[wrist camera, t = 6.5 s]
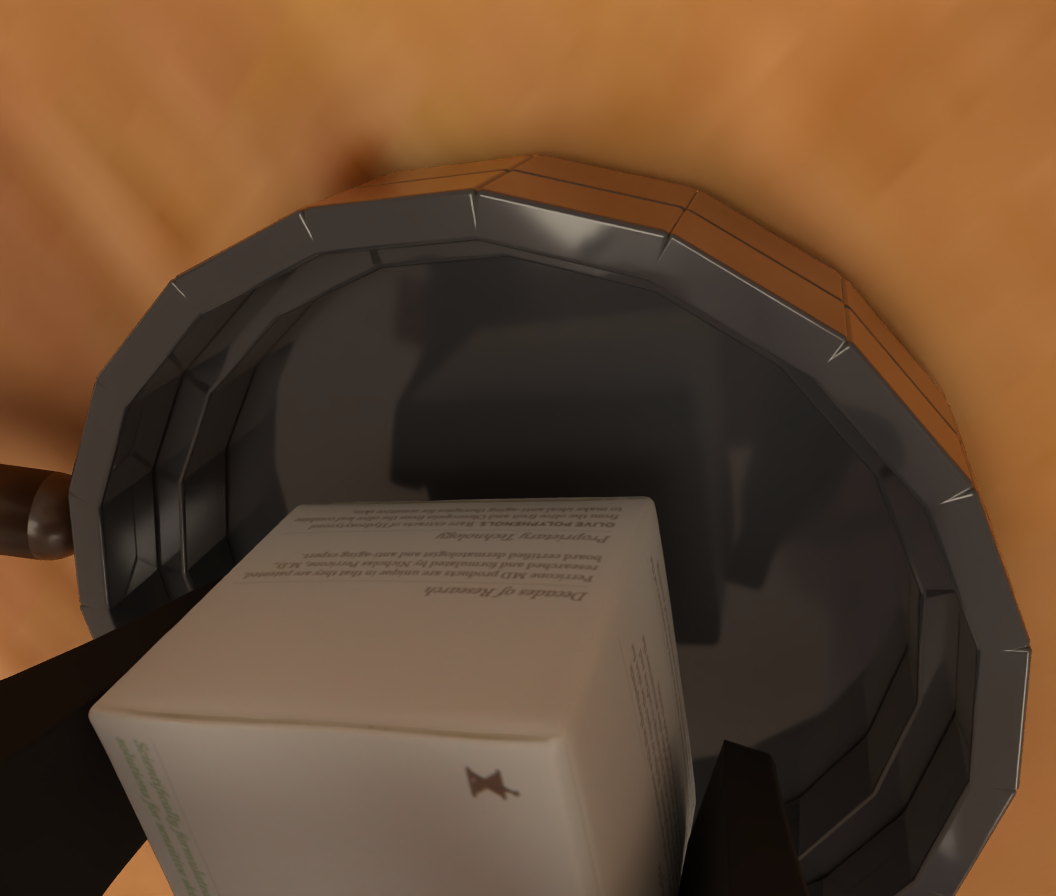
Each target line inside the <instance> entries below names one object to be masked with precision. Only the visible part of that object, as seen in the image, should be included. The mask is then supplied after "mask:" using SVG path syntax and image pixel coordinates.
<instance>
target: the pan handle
mask: <svg viewBox="0 0 1056 896" xmlns="http://www.w3.org/2000/svg"><path fill="white" fill-rule="evenodd" d="M71 476H72V475H69V474H66V473H61V472H55V471H48V470H41V469H34V468H27V467H20V466H12V465H5V464H0V555H7V556H14V557H22V558H29V559H37V560H57V559H62V558H65V557H68V556H71V555H73V554H74V548H73V539H72V530H71V520H70V511H69V502H68V494H69V490H68V488H69V484H70V480H71Z"/></svg>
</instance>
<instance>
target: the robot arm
mask: <svg viewBox="0 0 1056 896" xmlns="http://www.w3.org/2000/svg"><path fill="white" fill-rule="evenodd" d="M222 579H223V578H222V577H219V578H217V579H215V580H213V581H211V582H209V583H207V584H205V585H202V586H200V587H198V588H196V589H194V590H192V591H190V592H188V593H186V594H184V595H182V596H180V597H178V598H176V599H174V600H172V601H171V602H169V603H167V604H165V605H163V606H161V607H159V608H157V609H155V610H153V611H151V612H149V613H147V614H145V615H143V616H141V617H139V618H137V619H135V620H133V621H131V622H129V623H126V624H124V625H122V626H120V627H118V628H116V629H114V630H112V631H110V632H108V633H106V634H104V635H102V636H100V637H98V638H96V639H94V640H92V641H90V642H87V643H85V644H83V645H81V646H79V647H77V648H74V649H72V650H70V651H67V652H65V653H63V654H61V655H58V656H56V657H54V658H52V659H49V660H47V661H45V662H42V663H40V664H38V665H36V666H33V667H31V668H29V669H27V670H24V671H22V672H20V673H17V674H15V675H13V676H11V677H8V678H6V679H3V680H1V681H0V896H102V895H103V894H104V892H105V891H106V890H107V888H108V887H109V886H110V884H111V883H112V882H113V881H114V879H115V878H116V877H117V875H118V874H119V873H120V872H121V870H122V869H123V868H124V867H125V866H126V864H127V863H128V862H129V861H130V860H131V858H132V857H133V856H134V855H135V853H136V852H137V851H138V850H139V849H140V847H141V846H142V845H143V844H144V842H145V841H146V840H147V839H148V838H147V836H146V834H145V832H144V830H143V828H142V826H141V824H140V821H139V819H138V817H137V815H136V813H135V811H134V809H133V807H132V805H131V803H130V801H129V799H128V797H127V794H126V792H125V790H124V788H123V786H122V784H121V782H120V780H119V778H118V776H117V774H116V772H115V770H114V768H113V765H112V763H111V761H110V759H109V757H108V755H107V753H106V751H105V749H104V747H103V745H102V743H101V741H100V739H99V737H98V735H97V733H96V731H95V730H94V728H93V726H92V724H91V722H90V720H89V717H88V714H89V711H90V709H91V707H92V706H93V705H94V704H95V703H96V702H97V701H98V700H99V699H100V698H101V697H102V696H103V695H104V694H105V693H106V692H107V691H108V690H109V689H110V688H111V687H112V686H113V685H114V684H115V683H116V682H117V681H118V680H119V679H120V678H122V677H123V676H124V675H125V674H126V673H127V672H128V671H129V670H130V669H131V668H132V667H133V666H134V665H135V664H136V663H137V662H138V661H139V660H140V659H141V658H142V657H143V656H144V655H145V654H146V653H147V652H148V651H149V650H150V649H151V648H152V647H153V646H154V645H155V644H156V643H157V642H158V641H159V640H160V639H161V638H162V637H163V636H164V635H165V634H166V633H167V632H168V631H170V630H171V629H172V628H173V627H174V626H175V625H176V624H177V623H178V622H179V621H180V620H181V619H182V618H183V617H184V616H185V615H186V614H187V613H188V612H189V611H190V610H191V609H192V608H193V607H194V606H195V605H196V604H197V603H198V602H200V601H201V600H202V599H203V598H204V597H205V596H206V595H207V594H208V593H209V592H210V591H211V590H212V589H213V588H214V587H215V586H216V585H217V584H218V583H219V582H220V581H221V580H222ZM678 896H810V894H809V891H808V888H807V885H806V882H805V879H804V876H803V873H802V870H801V866H800V863H799V860H798V856H797V853H796V849H795V846H794V842H793V839H792V835H791V831H790V827H789V824H788V820H787V816H786V812H785V808H784V804H783V799H782V795H781V790H780V785H779V781H778V775H777V770H776V764H775V762H774V760H773V758H772V757H771V755H770V754H768V753H765V752H762V751H759V750H755V749H752V748H749V747H746V746H743V745H740V744H737V743H734V742H731V741H728V740H724V742H723V745H722V748H721V750H720V753H719V756H718V759H717V762H716V764H715V767H714V770H713V773H712V775H711V778H710V781H709V784H708V787H707V789H706V792H705V795H704V798H703V800H702V803H701V806H700V809H699V812H698V814H697V817H696V820H695V823H694V825H693V828H692V831H691V834H690V837H689V839H688V843H687V849H686V854H685V859H684V864H683V869H682V874H681V880H680V886H679V892H678Z"/></svg>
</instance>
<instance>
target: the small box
mask: <svg viewBox="0 0 1056 896" xmlns="http://www.w3.org/2000/svg"><path fill="white" fill-rule="evenodd" d="M88 717H89V720H90V722H91V724H92V726H93V728H94V730H95V731H96V733H97V735H98V737H99V739H100V741H101V743H102V745H103V747H104V749H105V751H106V753H107V755H108V757H109V759H110V761H111V763H112V765H113V768H114V770H115V772H116V774H117V776H118V778H119V780H120V782H121V784H122V786H123V788H124V790H125V792H126V794H127V797H128V799H129V801H130V803H131V805H132V807H133V809H134V811H135V813H136V815H137V817H138V819H139V821H140V824H141V826H142V828H143V830H144V832H145V834H146V836H147V838H148V841H149V843H150V845H151V847H152V849H153V851H154V853H155V855H156V858H157V860H158V862H159V864H160V866H161V868H162V870H163V872H164V874H165V877H166V879H167V881H168V883H169V885H170V887H171V889H172V891H173V894H174V896H678V892H679V886H680V880H681V874H682V869H683V864H684V859H685V854H686V849H687V843H688V839H689V837H690V833H691V828H692V822H693V816H694V810H695V805H696V796H695V783H694V775H693V765H692V756H691V748H690V740H689V733H688V726H687V719H686V712H685V705H684V698H683V691H682V684H681V676H680V668H679V660H678V653H677V647H676V640H675V633H674V625H673V618H672V610H671V603H670V596H669V590H668V583H667V576H666V569H665V563H664V556H663V550H662V544H661V537H660V531H659V524H658V519H657V513H656V508H655V504H654V502H653V500H652V499H651V498H649V497H644V496H636V497H577V498H561V497H559V498H525V499H475V500H442V501H381V502H333V503H312V504H302V505H299V506H297V507H296V508H295V509H293V510H292V511H291V512H290V513H289V514H288V515H287V516H286V517H285V518H284V519H283V520H282V521H281V522H280V523H279V524H278V525H277V526H276V527H275V528H274V529H273V530H272V531H271V532H270V533H269V534H268V535H267V536H266V537H265V538H264V539H263V540H262V541H261V542H260V543H258V544H257V545H256V546H255V547H254V548H253V550H252V551H251V552H250V553H248V554H247V555H246V556H245V557H244V558H243V559H242V560H241V561H240V562H239V563H238V564H237V565H236V566H235V567H234V568H233V569H232V570H231V571H230V572H229V573H228V574H227V575H226V576H225V577H224V578H223V579H222V580H221V581H220V582H219V583H218V584H217V585H216V586H215V587H214V588H213V589H212V590H211V591H210V592H209V593H208V594H207V595H206V596H205V597H204V598H203V599H202V600H201V601H200V602H198V603H197V604H196V605H195V606H194V607H193V608H192V609H191V610H190V611H189V612H188V613H187V614H186V615H185V616H184V617H183V618H182V619H181V620H180V621H179V622H178V623H177V624H176V625H175V626H174V627H173V628H172V629H171V630H170V631H168V632H167V633H166V634H165V635H164V636H163V637H162V638H161V639H160V640H159V641H158V642H157V643H156V644H155V645H154V646H153V647H152V648H151V649H150V650H149V651H148V652H147V653H146V654H145V655H144V656H143V657H142V658H141V659H140V660H139V661H138V662H137V663H136V664H135V665H134V666H133V667H132V668H131V669H130V670H129V671H128V672H127V673H126V674H125V675H124V676H123V677H122V678H120V679H119V680H118V681H117V682H116V683H115V684H114V685H113V686H112V687H111V688H110V689H109V690H108V691H107V692H106V693H105V694H104V695H103V696H102V697H101V698H100V699H99V700H98V701H97V702H96V703H95V704H94V705H93V706H92V707H91V709H90V711H89V714H88Z"/></svg>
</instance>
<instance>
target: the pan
mask: <svg viewBox="0 0 1056 896" xmlns="http://www.w3.org/2000/svg"><path fill="white" fill-rule="evenodd" d="M96 379H97V381H96V382H95V384H94V388H93V392H92V396H91V400H90V404H89V408H88V412H87V416H86V420H85V424H84V428H83V432H82V436H81V440H80V444H79V448H78V452H77V456H76V460H75V464H74V468H73V472H72V476H71V480H70V484H69V488H68V490H69V494H68V502H69V511H70V520H71V530H72V539H73V548H74V557H75V566H76V576H77V585H78V594H79V602H80V604H81V605H80V609H81V611H82V614H83V616H84V618H85V621H86V623H87V626H88V628H89V630H90V633H91V635H92V638H93V640H94V639H96V638H98V637H100V636H102V635H104V634H106V633H108V632H110V631H112V630H114V629H116V628H118V627H120V626H122V625H124V624H126V623H129V622H131V621H133V620H135V619H137V618H139V617H141V616H143V615H145V614H147V613H149V612H151V611H153V610H155V609H157V608H159V607H161V606H163V605H165V604H167V603H169V602H171V601H172V600H174V599H176V598H178V597H180V596H182V595H184V594H186V593H188V592H190V591H192V590H194V589H196V588H198V587H200V586H202V585H205V584H207V583H209V582H211V581H213V580H215V579H217V578H219V577H222V578H224V577H225V576H226V575H227V574H228V573H229V572H230V571H231V570H232V569H233V568H234V567H235V566H236V565H237V564H238V563H239V562H240V561H241V560H242V559H243V558H244V557H245V556H246V555H247V554H248V553H250V552H251V551H252V550H253V548H254V547H255V546H256V545H257V544H258V543H260V542H261V541H262V540H263V539H264V538H265V537H266V536H267V535H268V534H269V533H270V532H271V531H272V530H273V529H274V528H275V527H276V526H277V525H278V524H279V523H280V522H281V521H282V520H283V519H284V518H285V517H286V516H287V515H288V514H289V513H290V512H291V511H292V510H293V509H295V508H296V507H297V506H299V505H302V504H312V503H333V502H381V501H442V500H475V499H525V498H559V497H561V498H577V497H636V496H644V497H649V498H651V499H652V500H653V502H654V504H655V508H656V513H657V519H658V524H659V531H660V537H661V544H662V550H663V556H664V563H665V569H666V576H667V583H668V590H669V596H670V603H671V610H672V618H673V625H674V633H675V640H676V647H677V653H678V660H679V668H680V676H681V684H682V691H683V698H684V705H685V712H686V719H687V726H688V733H689V740H690V748H691V756H692V765H693V775H694V783H695V796H696V805H695V810H694V816H693V822H692V828H693V825H694V823H695V820H696V817H697V814H698V812H699V809H700V806H701V803H702V800H703V798H704V795H705V792H706V789H707V787H708V784H709V781H710V778H711V775H712V773H713V770H714V767H715V764H716V762H717V759H718V756H719V753H720V750H721V748H722V745H723V742H724V740H728V741H731V742H734V743H737V744H740V745H743V746H746V747H749V748H752V749H755V750H759V751H762V752H765V753H768V754H770V755H771V757H772V758H773V760H774V762H775V764H776V770H777V775H778V781H779V785H780V790H781V795H782V799H783V804H784V808H785V812H786V816H787V820H788V824H789V827H790V831H791V835H792V839H793V842H794V846H795V849H796V853H797V856H798V860H799V863H800V866H801V870H802V873H803V876H804V879H805V882H806V885H807V888H808V891H809V894H810V896H955V894H956V893H957V891H958V889H959V888H960V886H961V884H962V883H963V881H964V879H965V878H966V876H967V875H968V873H969V871H970V870H971V868H972V866H973V865H974V863H975V861H976V860H977V858H978V856H979V855H980V853H981V851H982V850H983V848H984V846H985V845H986V843H987V841H988V840H989V838H990V836H991V835H992V833H993V831H994V830H995V828H996V826H997V825H998V823H999V821H1000V820H1001V818H1002V816H1003V815H1004V813H1005V811H1006V810H1007V808H1008V806H1009V805H1010V803H1011V801H1012V800H1013V798H1014V796H1015V795H1016V790H1018V788H1019V785H1020V774H1021V763H1022V752H1023V741H1024V730H1025V720H1026V709H1027V698H1028V687H1029V676H1030V665H1031V655H1032V649H1031V646H1030V639H1029V636H1028V633H1027V630H1026V627H1025V624H1024V621H1023V618H1022V615H1021V612H1020V609H1019V606H1018V603H1017V600H1016V597H1015V594H1014V591H1013V588H1012V585H1011V582H1010V579H1009V576H1008V573H1007V570H1006V567H1005V564H1004V561H1003V558H1002V555H1001V552H1000V549H999V546H998V543H997V540H996V538H995V535H994V532H993V529H992V526H991V523H990V520H989V517H988V514H987V511H986V509H985V506H984V503H983V500H982V497H981V494H980V491H979V488H978V486H977V483H976V480H975V477H974V474H973V471H972V468H971V465H970V463H969V460H968V457H967V454H966V451H965V448H964V445H963V442H962V440H961V437H960V434H959V431H958V428H957V425H956V422H955V419H954V416H953V414H952V411H951V408H950V405H949V404H948V403H947V402H946V399H945V396H944V394H943V393H942V392H941V391H940V390H939V388H938V387H937V386H936V385H935V384H934V383H933V381H932V380H931V379H930V378H929V377H928V375H927V374H926V373H925V372H924V371H923V369H922V368H921V367H920V366H919V365H918V363H917V362H916V361H915V360H914V359H913V358H912V356H911V355H910V354H909V353H908V352H907V350H906V349H905V348H904V347H903V346H902V344H901V343H900V342H899V341H898V340H897V339H896V337H895V336H894V335H893V334H892V333H891V331H890V330H889V329H888V328H887V327H886V325H885V324H884V323H883V322H882V321H881V320H880V318H879V317H878V316H877V315H876V314H875V312H874V311H873V310H872V309H871V308H870V306H869V305H868V304H867V303H866V302H865V300H864V299H863V298H862V297H861V296H860V295H859V293H858V292H857V291H856V290H855V289H854V287H853V286H852V285H851V284H850V283H849V281H848V280H847V279H845V278H841V275H840V274H839V273H838V272H837V271H835V270H833V269H832V268H830V267H828V266H826V265H825V264H823V263H821V262H820V261H818V260H816V259H815V258H813V257H811V256H810V255H808V254H806V253H805V252H803V251H801V250H800V249H798V248H796V247H795V246H793V245H791V244H790V243H788V242H786V241H785V240H783V239H781V238H780V237H778V236H776V235H774V234H773V233H771V232H769V231H768V230H766V229H764V228H763V227H761V226H759V225H758V224H756V223H754V222H753V221H751V220H749V219H748V218H746V217H744V216H743V215H741V214H739V213H738V212H736V211H734V210H733V209H731V208H729V207H728V206H726V205H724V204H723V203H721V202H719V201H717V200H716V199H714V198H712V197H711V196H709V195H707V194H706V193H704V192H702V191H698V192H697V189H695V188H693V187H689V186H684V185H679V184H675V183H670V182H666V181H661V180H656V179H652V178H647V177H643V176H638V175H633V174H629V173H624V172H619V171H615V170H610V169H606V168H601V167H596V166H592V165H587V164H583V163H578V162H573V161H569V160H564V159H559V158H555V157H550V156H546V155H537V156H533V155H525V156H517V157H509V158H501V159H493V160H485V161H477V162H469V163H461V164H453V165H445V166H437V167H429V168H421V169H413V170H406V171H398V172H393V173H390V174H388V175H383V176H381V177H378V178H376V179H373V180H371V181H368V182H366V183H363V184H361V185H358V186H356V187H353V188H351V189H348V190H346V191H343V192H341V193H338V194H336V195H333V196H331V197H328V198H326V199H323V200H321V201H318V202H316V203H313V204H311V205H308V206H306V207H303V208H301V209H298V210H297V211H295V212H293V213H291V214H289V215H287V216H285V217H284V218H282V219H280V220H278V221H276V222H274V223H273V224H271V225H269V226H267V227H265V228H263V229H262V230H260V231H258V232H256V233H254V234H252V235H250V236H249V237H247V238H245V239H243V240H241V241H239V242H238V243H236V244H234V245H232V246H230V247H228V248H227V249H225V250H223V251H221V252H219V253H217V254H215V255H214V256H212V257H210V258H208V259H206V260H204V261H203V262H201V263H199V264H197V265H195V266H193V267H192V268H190V269H188V270H186V271H184V272H182V273H181V274H179V275H177V276H176V278H175V279H172V280H171V281H170V282H169V283H168V285H167V286H166V287H165V288H164V290H163V291H162V292H161V294H160V295H159V296H158V298H157V299H156V300H155V302H154V303H153V304H152V305H151V307H150V308H149V309H148V311H147V312H146V313H145V315H144V316H143V317H142V318H141V320H140V321H139V322H138V324H137V325H136V326H135V328H134V329H133V330H132V332H131V333H130V334H129V335H128V337H127V338H126V339H125V341H124V342H123V343H122V345H121V346H120V347H119V348H118V350H117V351H116V352H115V354H114V355H113V356H112V358H111V359H110V360H109V361H108V363H107V364H106V365H105V367H104V368H103V369H102V371H101V372H100V373H99V375H98V376H97V378H96ZM692 828H691V831H692ZM690 834H691V833H690Z"/></svg>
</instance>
